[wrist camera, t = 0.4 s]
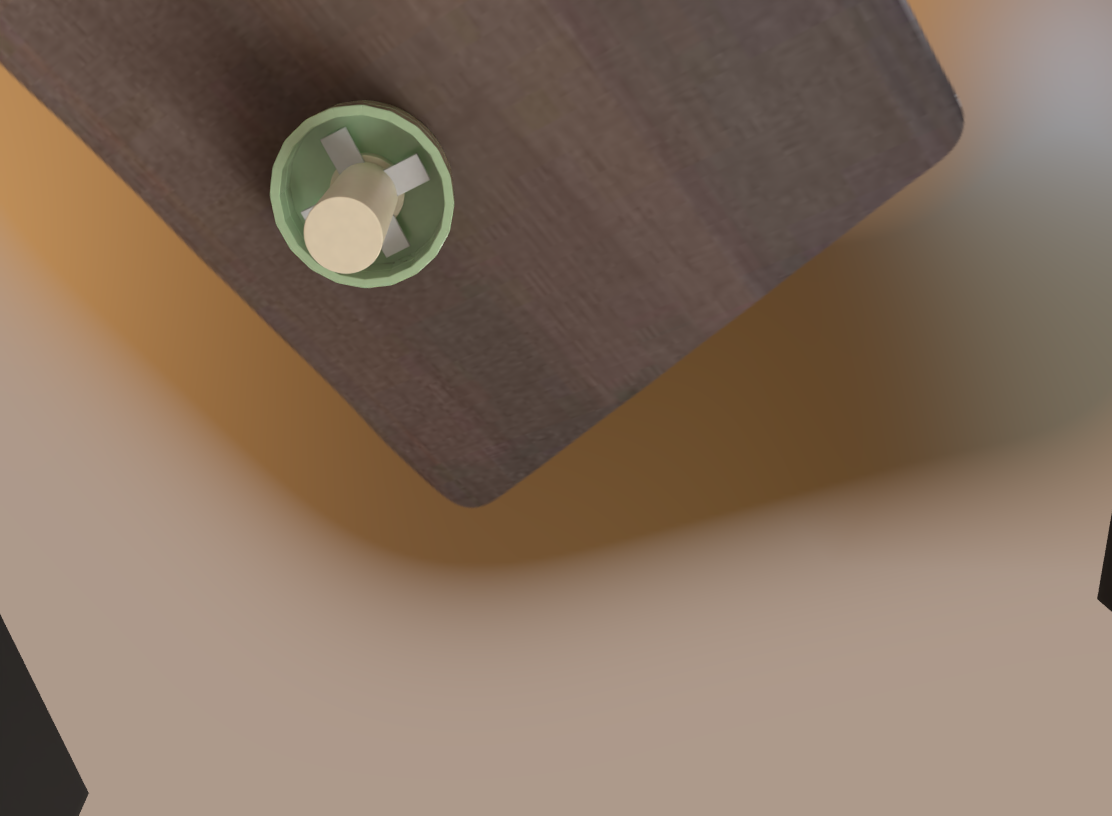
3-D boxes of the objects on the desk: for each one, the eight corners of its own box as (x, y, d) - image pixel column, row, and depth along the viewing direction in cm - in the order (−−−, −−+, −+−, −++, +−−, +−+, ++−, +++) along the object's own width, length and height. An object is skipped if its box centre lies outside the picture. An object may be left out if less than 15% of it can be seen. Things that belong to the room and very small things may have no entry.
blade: (278, 159, 56) (225, 197, 43) (393, 100, 56) (374, 121, 42) (345, 272, 60) (315, 339, 47) (454, 218, 59) (454, 271, 46)
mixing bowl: (266, 109, 55) (251, 115, 51) (441, 92, 56) (440, 96, 52) (302, 278, 60) (291, 296, 56) (463, 260, 61) (464, 277, 57)
